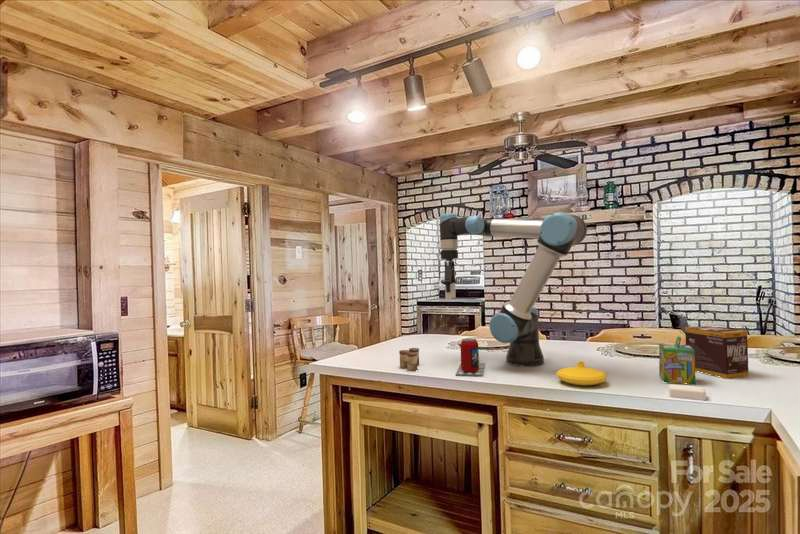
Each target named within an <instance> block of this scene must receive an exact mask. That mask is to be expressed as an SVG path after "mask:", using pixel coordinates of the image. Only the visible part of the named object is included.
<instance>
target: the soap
mask: <svg viewBox="0 0 800 534" xmlns="http://www.w3.org/2000/svg"><path fill="white" fill-rule="evenodd" d="M668 385H669V386H668V392H669V393H668V395H669V397H670V398H676V399H685V400H695V401H707V393H706V389H705V387H703V386H695V385H686V384H675V383H669V384H668Z"/></svg>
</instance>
